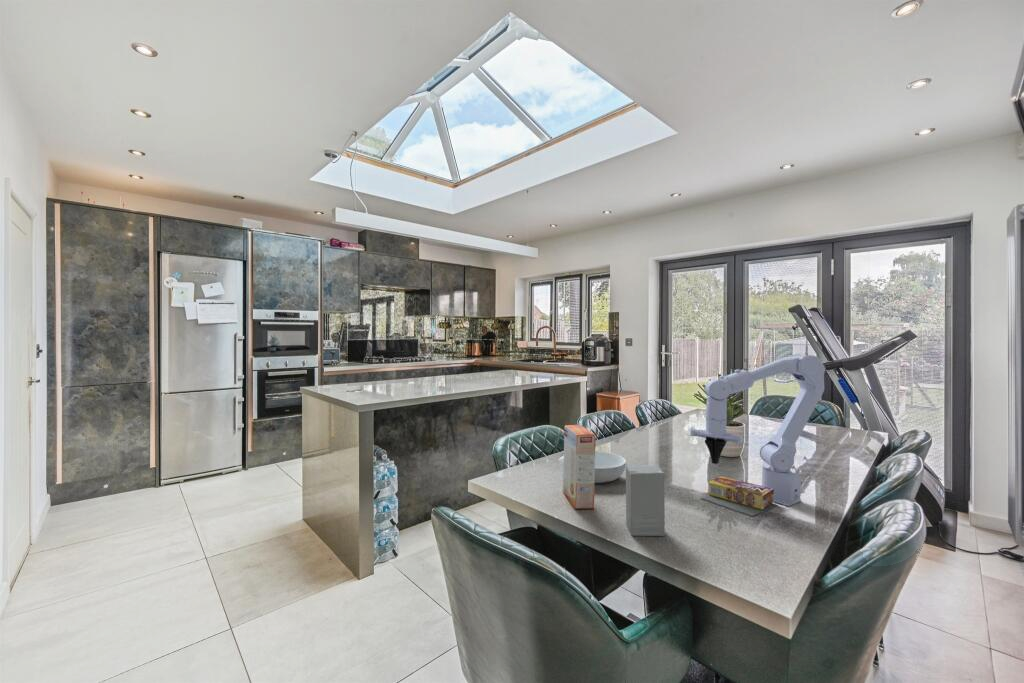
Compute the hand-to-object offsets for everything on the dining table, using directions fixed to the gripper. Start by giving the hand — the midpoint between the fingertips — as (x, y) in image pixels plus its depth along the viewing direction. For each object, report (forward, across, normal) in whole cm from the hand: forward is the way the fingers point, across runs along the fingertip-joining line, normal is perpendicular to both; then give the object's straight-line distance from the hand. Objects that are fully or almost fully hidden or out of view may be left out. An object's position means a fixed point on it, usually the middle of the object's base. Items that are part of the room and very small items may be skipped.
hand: (715, 462), depth 133 cm
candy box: (+7, 0, 0) cm, 7 cm away
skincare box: (+10, +5, +40) cm, 41 cm away
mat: (+10, -8, +3) cm, 12 cm away
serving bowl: (+10, +35, +13) cm, 38 cm away
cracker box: (+10, +28, +34) cm, 45 cm away
